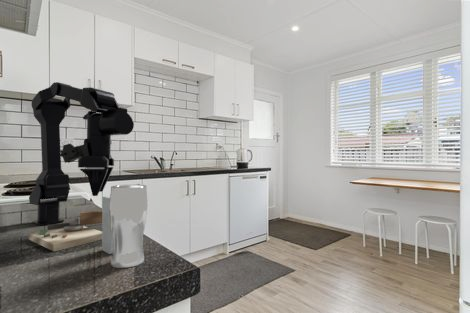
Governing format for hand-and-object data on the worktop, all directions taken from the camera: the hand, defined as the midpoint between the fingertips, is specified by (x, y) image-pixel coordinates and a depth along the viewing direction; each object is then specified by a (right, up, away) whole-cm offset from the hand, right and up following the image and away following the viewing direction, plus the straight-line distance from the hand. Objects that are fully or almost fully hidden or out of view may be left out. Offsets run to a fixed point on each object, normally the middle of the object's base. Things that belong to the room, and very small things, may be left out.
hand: (97, 193), depth 70 cm
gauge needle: (-5, -9, -2) cm, 10 cm away
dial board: (-5, -11, -5) cm, 13 cm away
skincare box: (+11, -11, -12) cm, 20 cm away
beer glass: (+16, -11, -19) cm, 27 cm away
